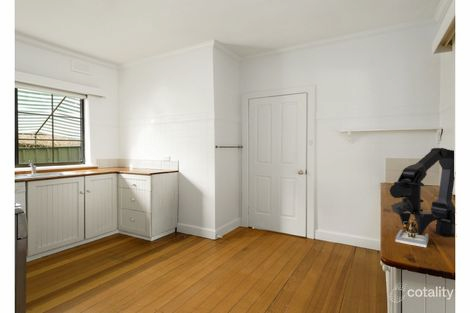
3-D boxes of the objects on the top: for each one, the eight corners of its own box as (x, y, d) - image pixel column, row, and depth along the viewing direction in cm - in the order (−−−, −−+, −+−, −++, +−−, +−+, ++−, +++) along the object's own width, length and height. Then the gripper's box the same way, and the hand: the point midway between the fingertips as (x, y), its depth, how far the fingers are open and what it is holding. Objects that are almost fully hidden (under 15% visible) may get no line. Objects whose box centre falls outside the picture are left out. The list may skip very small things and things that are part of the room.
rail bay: (400, 233, 124) (400, 229, 124) (428, 238, 117) (428, 233, 117) (395, 241, 114) (395, 236, 114) (426, 247, 107) (426, 242, 107)
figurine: (401, 235, 119) (403, 217, 118) (412, 234, 119) (413, 217, 118) (409, 239, 114) (410, 221, 113) (420, 239, 114) (421, 221, 113)
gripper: (382, 193, 124) (381, 225, 124) (409, 201, 105) (408, 239, 106) (405, 192, 124) (404, 225, 125) (436, 200, 105) (435, 238, 106)
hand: (412, 231), depth 115 cm, fingers open, 9 cm apart
